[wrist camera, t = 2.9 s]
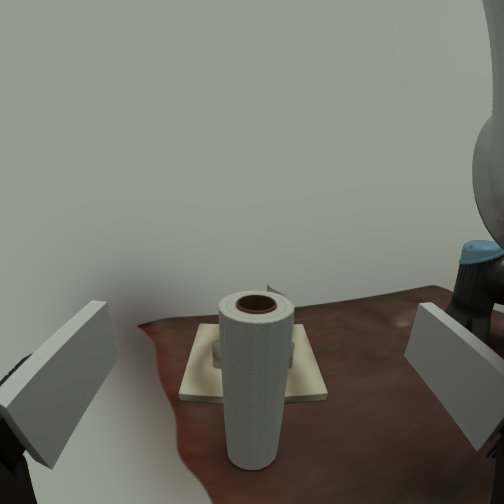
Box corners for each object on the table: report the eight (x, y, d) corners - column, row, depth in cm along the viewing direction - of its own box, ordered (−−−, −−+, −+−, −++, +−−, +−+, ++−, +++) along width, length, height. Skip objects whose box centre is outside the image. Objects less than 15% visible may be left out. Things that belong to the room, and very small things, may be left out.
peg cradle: (301, 330, 57) (304, 305, 56) (325, 399, 36) (333, 370, 34) (200, 329, 57) (198, 304, 55) (180, 400, 35) (174, 371, 34)
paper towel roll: (249, 479, 22) (253, 329, 17) (217, 449, 27) (203, 299, 21) (292, 449, 27) (319, 299, 22) (260, 425, 31) (267, 280, 26)
